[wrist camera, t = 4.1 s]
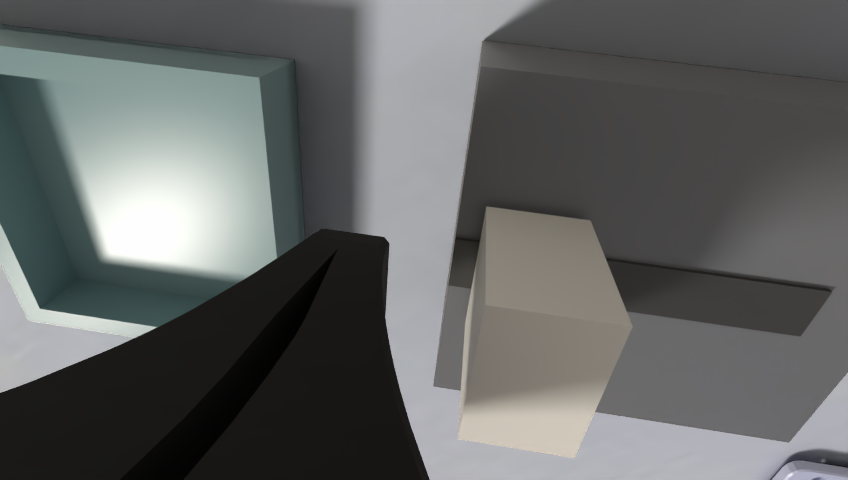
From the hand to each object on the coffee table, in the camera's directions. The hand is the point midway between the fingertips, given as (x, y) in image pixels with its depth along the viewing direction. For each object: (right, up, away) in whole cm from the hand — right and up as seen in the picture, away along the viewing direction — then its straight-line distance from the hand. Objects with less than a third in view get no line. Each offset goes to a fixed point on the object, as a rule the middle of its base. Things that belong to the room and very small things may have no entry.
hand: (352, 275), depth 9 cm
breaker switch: (+3, 0, 0) cm, 3 cm away
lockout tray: (-6, +2, +4) cm, 8 cm away
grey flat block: (+7, +1, +3) cm, 8 cm away
